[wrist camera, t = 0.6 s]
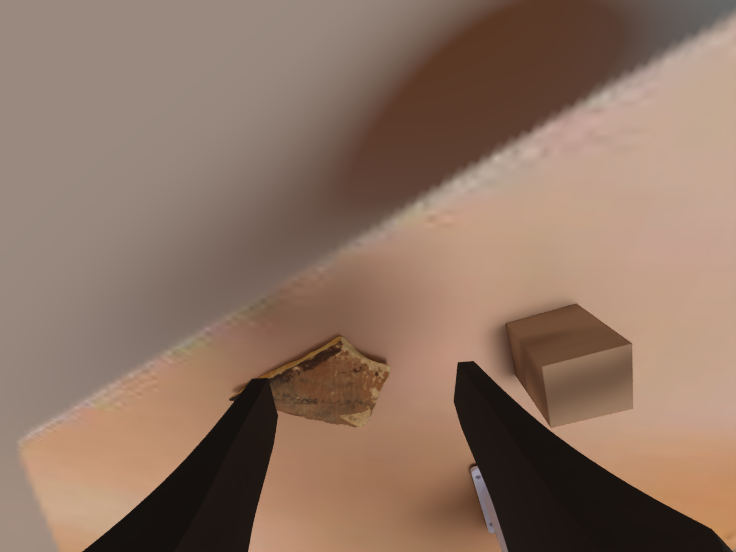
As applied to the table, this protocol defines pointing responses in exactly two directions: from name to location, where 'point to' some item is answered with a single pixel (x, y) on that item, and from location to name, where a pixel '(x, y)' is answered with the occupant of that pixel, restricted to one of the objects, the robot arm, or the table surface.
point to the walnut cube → (572, 365)
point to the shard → (329, 385)
